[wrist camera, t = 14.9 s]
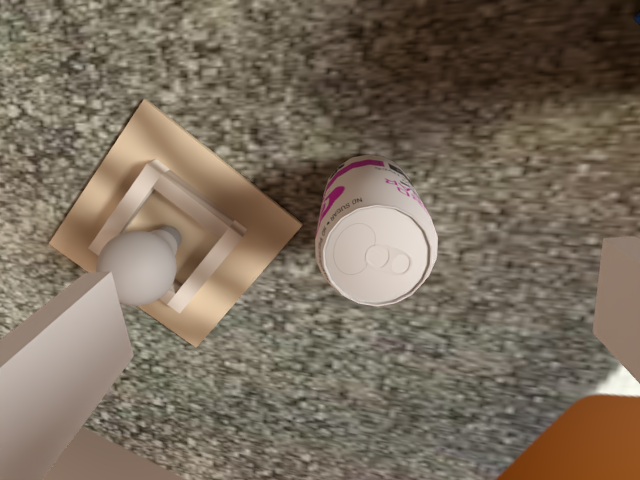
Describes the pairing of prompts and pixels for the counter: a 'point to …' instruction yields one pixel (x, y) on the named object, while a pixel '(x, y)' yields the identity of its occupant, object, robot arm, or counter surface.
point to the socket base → (179, 219)
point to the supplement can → (374, 232)
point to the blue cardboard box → (637, 18)
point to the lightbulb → (141, 263)
